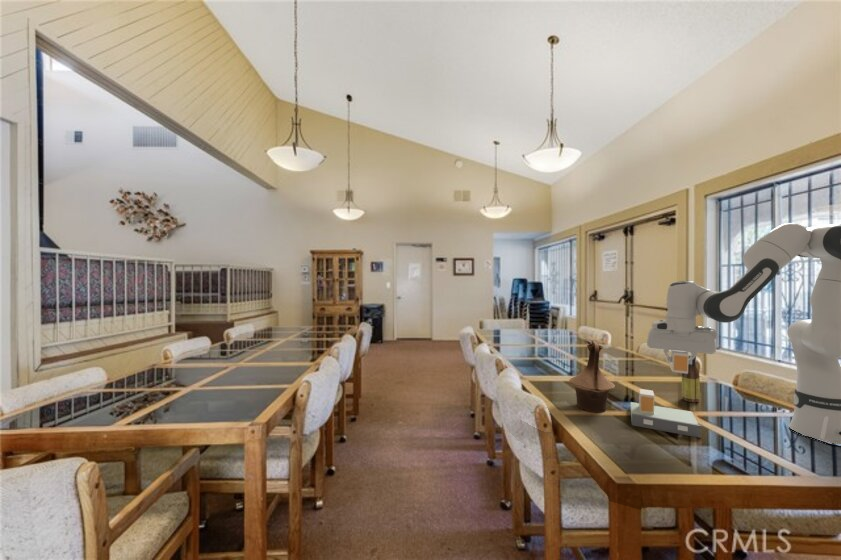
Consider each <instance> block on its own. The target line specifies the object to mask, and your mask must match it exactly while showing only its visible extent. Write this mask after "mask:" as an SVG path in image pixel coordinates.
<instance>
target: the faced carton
mask: <svg viewBox="0 0 841 560" xmlns="http://www.w3.org/2000/svg"><path fill="white" fill-rule="evenodd" d="M638 391H639V392H638V403H639V410H640V412H642V413H648V414H654V406H655V393H654V390H653V389H652V390H650V389H644V388H643V389H642V388H638Z"/></svg>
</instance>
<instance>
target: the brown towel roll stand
mask: <svg viewBox="0 0 841 560" xmlns="http://www.w3.org/2000/svg"><path fill="white" fill-rule="evenodd" d="M584 341H585V342H586V343H587V345H586V347H587V349H588V351H589V353H588V361H587V364H586V366H585V368H584V369H583V370H582V371H581V372H580V373H579V374H577V375H575V376H573V377H571V378H569V379H568V380H569V383H570V384H572V385H573V386H574V389H575V397H576V406H577V408H579V409H581V410H583V409H585V410H584V411H587V410H589V411H588V412H591V411H593V412H594V413H603V412H605V411H606V409H607V401H608V396H609V393H610V390H613V389H614V388H615V387H616V385H615V384H614V383H613V382H612V381H610V379H608V378H607V377H606V376H605V375H604V374H603V372H602V371H601V369H600V367H599V366H600V365H599V362H600V352H601V350H602V349H603V345H601V344H599V341H598V340H595V339H584ZM593 412H592V413H593Z"/></svg>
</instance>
